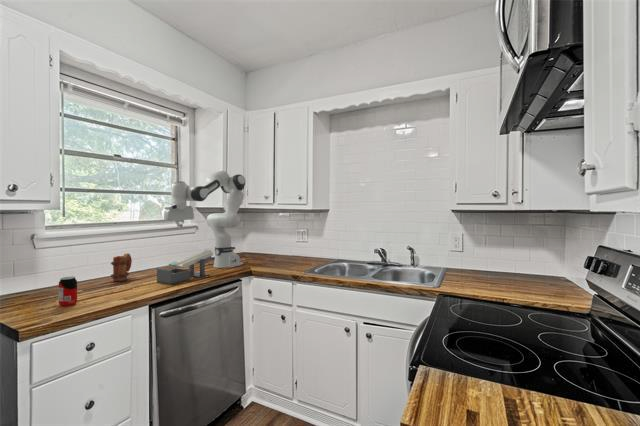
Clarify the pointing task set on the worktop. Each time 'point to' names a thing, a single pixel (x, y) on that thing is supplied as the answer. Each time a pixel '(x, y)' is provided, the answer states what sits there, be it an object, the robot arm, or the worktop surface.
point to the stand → (202, 270)
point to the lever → (194, 259)
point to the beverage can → (67, 291)
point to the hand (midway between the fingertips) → (179, 227)
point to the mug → (121, 267)
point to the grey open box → (172, 276)
